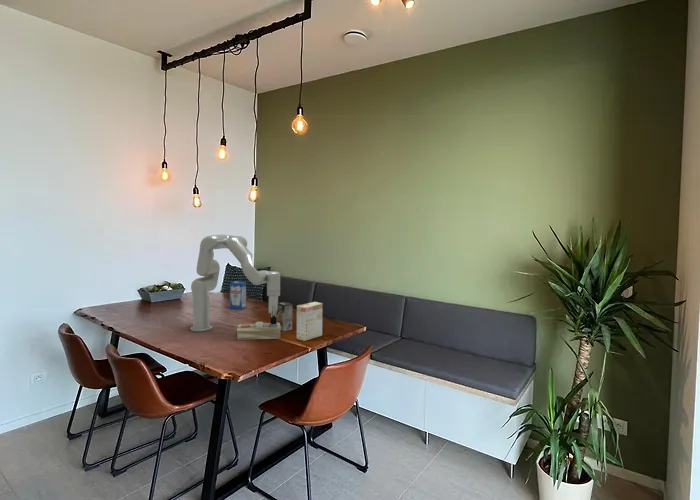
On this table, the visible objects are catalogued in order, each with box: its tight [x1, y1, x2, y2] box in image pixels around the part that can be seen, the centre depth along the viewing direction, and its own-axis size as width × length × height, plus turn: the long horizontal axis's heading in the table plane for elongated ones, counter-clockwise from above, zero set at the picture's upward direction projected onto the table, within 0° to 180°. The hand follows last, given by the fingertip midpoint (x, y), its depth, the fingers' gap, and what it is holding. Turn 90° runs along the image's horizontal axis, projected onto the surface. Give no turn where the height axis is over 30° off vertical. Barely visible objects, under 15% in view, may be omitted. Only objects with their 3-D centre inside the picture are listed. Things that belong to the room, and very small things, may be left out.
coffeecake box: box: [296, 301, 324, 342], centre depth 235 cm, size 15×7×20 cm, turn 141°
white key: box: [255, 321, 264, 327], centre depth 235 cm, size 4×4×4 cm
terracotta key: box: [241, 323, 250, 328], centre depth 233 cm, size 4×4×4 cm
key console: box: [236, 322, 282, 341], centre depth 235 cm, size 12×24×6 cm, turn 102°
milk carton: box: [229, 281, 247, 311], centre depth 303 cm, size 10×6×20 cm, turn 73°
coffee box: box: [276, 301, 293, 332], centre depth 251 cm, size 9×6×16 cm
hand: (273, 323), depth 236 cm, fingers closed
